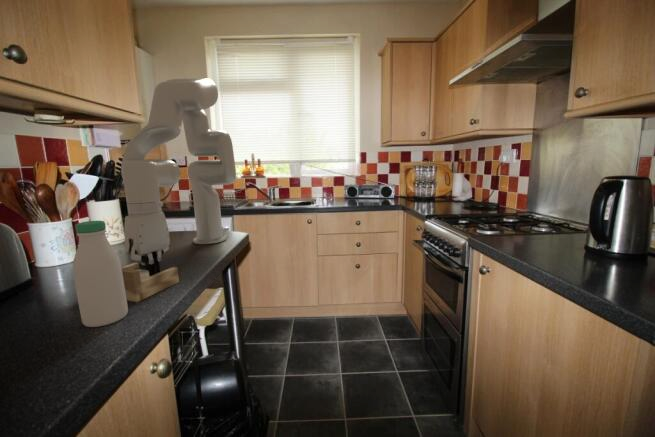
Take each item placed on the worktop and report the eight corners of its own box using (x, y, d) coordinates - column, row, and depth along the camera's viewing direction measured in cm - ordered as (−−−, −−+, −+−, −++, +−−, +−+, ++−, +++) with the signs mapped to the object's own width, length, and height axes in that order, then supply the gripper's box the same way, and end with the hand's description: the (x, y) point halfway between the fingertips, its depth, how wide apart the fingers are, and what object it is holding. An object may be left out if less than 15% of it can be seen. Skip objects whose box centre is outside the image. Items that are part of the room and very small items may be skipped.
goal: (136, 276, 87) (133, 252, 85) (179, 281, 82) (176, 256, 80) (91, 294, 75) (86, 266, 74) (137, 302, 70) (133, 272, 69)
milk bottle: (132, 317, 63) (118, 221, 59) (85, 333, 58) (66, 228, 54) (123, 305, 69) (110, 217, 65) (80, 318, 63) (62, 222, 60)
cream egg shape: (135, 283, 82) (133, 268, 81) (157, 285, 80) (155, 270, 79) (111, 294, 75) (108, 278, 75) (134, 296, 73) (131, 281, 73)
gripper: (158, 204, 88) (165, 266, 91) (105, 213, 74) (117, 285, 77) (179, 205, 85) (186, 268, 89) (128, 214, 72) (139, 289, 75)
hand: (154, 276), depth 83 cm, fingers closed
